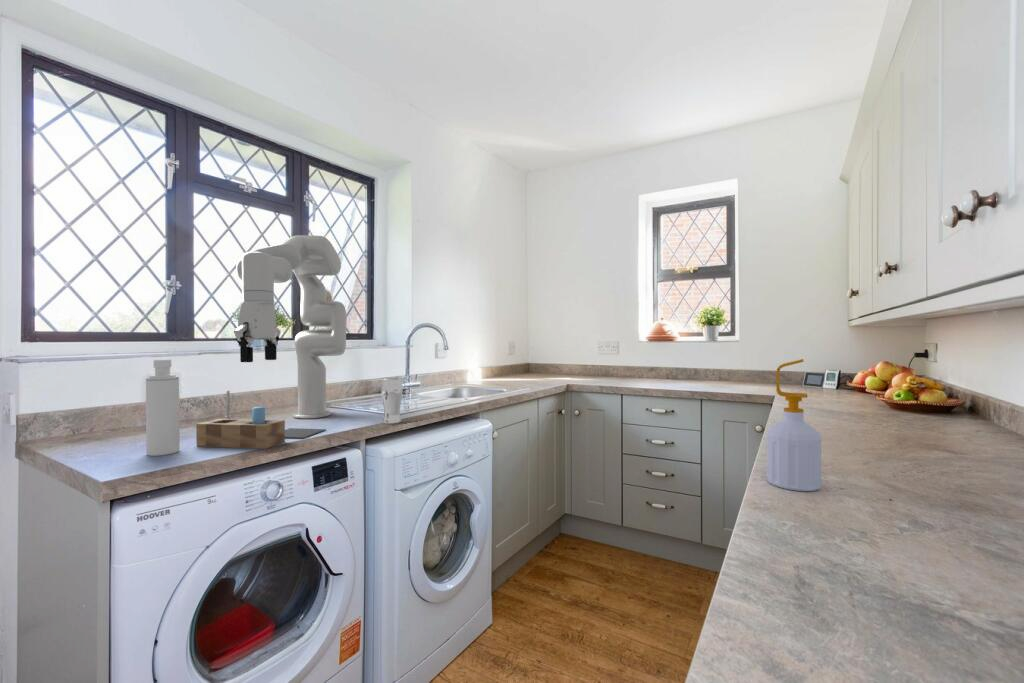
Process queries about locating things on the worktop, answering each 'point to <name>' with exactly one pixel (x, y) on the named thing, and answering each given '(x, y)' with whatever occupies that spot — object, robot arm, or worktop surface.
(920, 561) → the worktop surface
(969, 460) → the worktop surface
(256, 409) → the pin
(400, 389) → the beer glass
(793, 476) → the soap bottle
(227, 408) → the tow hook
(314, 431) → the mat
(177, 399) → the white capped bottle
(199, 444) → the hole block
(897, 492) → the worktop surface
